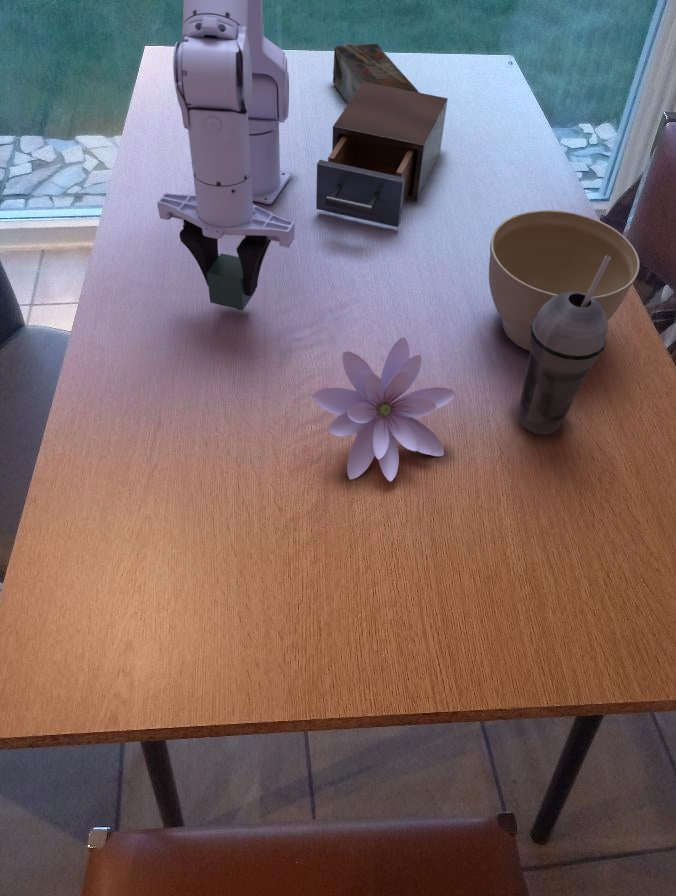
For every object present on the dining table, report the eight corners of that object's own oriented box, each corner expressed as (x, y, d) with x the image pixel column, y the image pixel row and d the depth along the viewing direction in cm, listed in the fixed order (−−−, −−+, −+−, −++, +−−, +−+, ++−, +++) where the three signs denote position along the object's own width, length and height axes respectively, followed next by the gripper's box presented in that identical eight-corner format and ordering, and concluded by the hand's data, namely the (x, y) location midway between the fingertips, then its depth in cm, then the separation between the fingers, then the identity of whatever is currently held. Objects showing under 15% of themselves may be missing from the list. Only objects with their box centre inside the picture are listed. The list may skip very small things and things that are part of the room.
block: (210, 302, 88) (206, 272, 85) (223, 282, 90) (220, 252, 87) (243, 310, 87) (240, 280, 84) (256, 290, 90) (254, 260, 86)
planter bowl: (464, 288, 96) (480, 207, 88) (589, 289, 98) (617, 210, 89) (485, 376, 87) (505, 295, 78) (624, 376, 88) (658, 297, 80)
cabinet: (416, 202, 108) (424, 145, 101) (331, 183, 109) (332, 126, 103) (440, 153, 117) (447, 98, 110) (360, 136, 118) (363, 81, 112)
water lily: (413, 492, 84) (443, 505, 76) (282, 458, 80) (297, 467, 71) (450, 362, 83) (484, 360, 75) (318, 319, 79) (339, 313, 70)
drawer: (388, 246, 99) (393, 201, 94) (304, 227, 101) (304, 181, 96) (422, 177, 110) (427, 133, 105) (345, 161, 112) (347, 117, 107)
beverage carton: (376, 79, 130) (379, 37, 125) (419, 135, 120) (424, 90, 115) (331, 84, 128) (332, 40, 123) (371, 140, 118) (374, 95, 113)
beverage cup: (499, 395, 85) (545, 232, 69) (564, 395, 86) (623, 233, 70) (512, 444, 80) (564, 282, 65) (580, 443, 81) (647, 282, 65)
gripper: (136, 175, 75) (157, 291, 86) (276, 207, 74) (280, 321, 84) (167, 142, 79) (183, 257, 90) (301, 171, 78) (301, 284, 88)
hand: (232, 286), depth 88 cm, fingers closed on block, 4 cm apart
